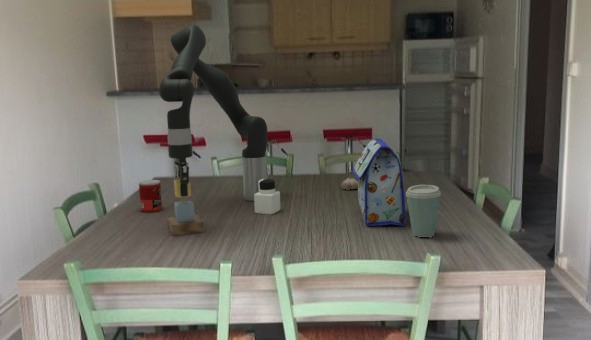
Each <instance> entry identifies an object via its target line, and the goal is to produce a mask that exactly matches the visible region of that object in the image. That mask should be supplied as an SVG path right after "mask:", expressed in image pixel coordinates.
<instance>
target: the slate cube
mask: <svg viewBox="0 0 591 340" xmlns="http://www.w3.org/2000/svg"><path fill="white" fill-rule="evenodd" d="M173 203H174V217H175V219H176V221H177V222H178V223H179V222H188V221H195V215H196V214H195V203H193V202H192V200H185V201H175V202H173Z"/></svg>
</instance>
